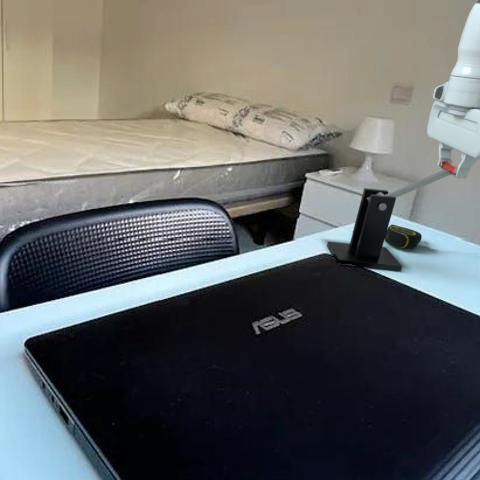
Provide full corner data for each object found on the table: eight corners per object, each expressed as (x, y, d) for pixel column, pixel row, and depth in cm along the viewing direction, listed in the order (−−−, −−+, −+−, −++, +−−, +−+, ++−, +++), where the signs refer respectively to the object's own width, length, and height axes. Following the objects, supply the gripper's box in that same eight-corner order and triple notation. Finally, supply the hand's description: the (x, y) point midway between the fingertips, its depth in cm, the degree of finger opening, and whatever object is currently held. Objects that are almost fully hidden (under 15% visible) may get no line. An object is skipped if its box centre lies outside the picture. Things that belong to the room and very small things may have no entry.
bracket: (384, 252, 104) (402, 189, 98) (400, 271, 96) (421, 203, 90) (326, 246, 104) (341, 183, 99) (337, 265, 96) (355, 197, 91)
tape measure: (419, 246, 109) (424, 230, 107) (411, 255, 104) (416, 238, 102) (387, 237, 113) (391, 221, 111) (378, 245, 108) (382, 228, 106)
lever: (451, 170, 94) (448, 159, 94) (464, 177, 90) (461, 166, 89) (368, 206, 98) (364, 195, 97) (376, 214, 94) (372, 203, 93)
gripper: (529, 105, 77) (500, 190, 82) (463, 90, 96) (443, 160, 101) (487, 102, 77) (461, 187, 83) (430, 87, 96) (412, 158, 102)
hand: (451, 172), depth 92 cm, fingers closed on lever, 5 cm apart
